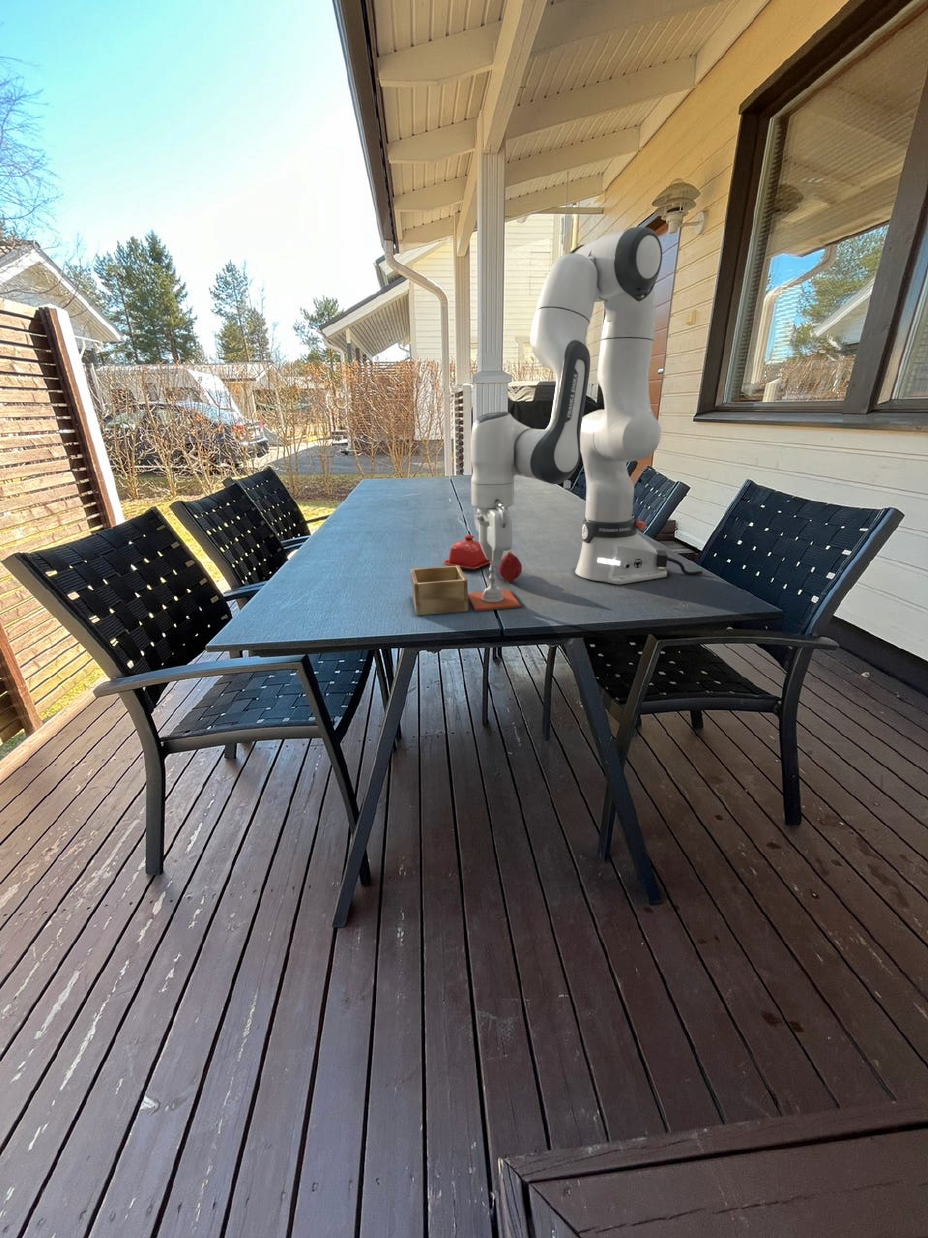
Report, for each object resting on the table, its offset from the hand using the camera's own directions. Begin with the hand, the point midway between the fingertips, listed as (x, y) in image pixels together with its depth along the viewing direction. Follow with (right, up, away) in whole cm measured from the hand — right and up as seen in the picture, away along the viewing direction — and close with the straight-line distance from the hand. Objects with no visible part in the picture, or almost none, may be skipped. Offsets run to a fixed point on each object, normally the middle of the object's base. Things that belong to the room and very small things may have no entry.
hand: (492, 560), depth 114 cm
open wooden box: (-12, -9, +3) cm, 15 cm away
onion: (+5, -4, +16) cm, 17 cm away
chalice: (0, -8, +3) cm, 9 cm away
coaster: (0, -9, +4) cm, 9 cm away
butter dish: (-5, +2, +30) cm, 31 cm away
